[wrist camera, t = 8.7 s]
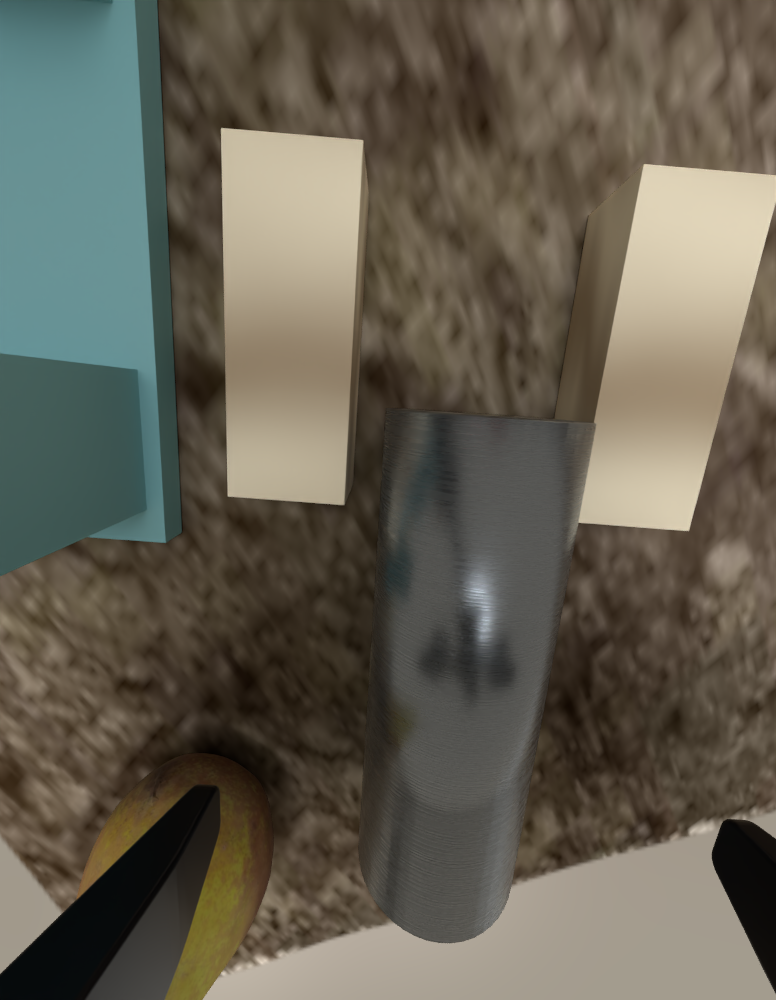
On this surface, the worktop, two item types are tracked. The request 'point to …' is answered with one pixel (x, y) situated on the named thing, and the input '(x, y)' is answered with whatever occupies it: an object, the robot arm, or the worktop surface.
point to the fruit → (232, 869)
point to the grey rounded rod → (462, 655)
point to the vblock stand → (84, 280)
